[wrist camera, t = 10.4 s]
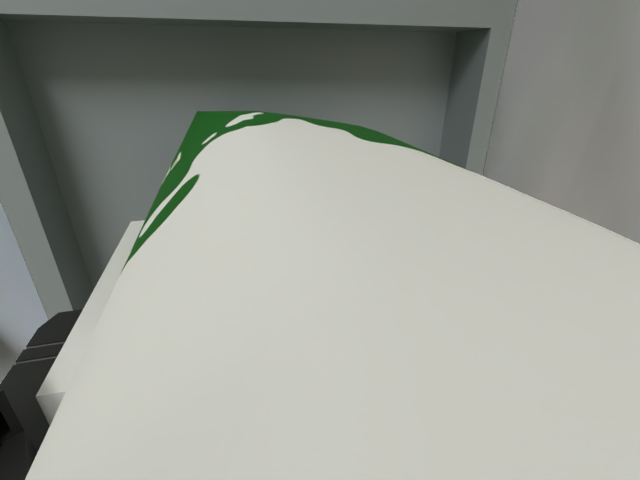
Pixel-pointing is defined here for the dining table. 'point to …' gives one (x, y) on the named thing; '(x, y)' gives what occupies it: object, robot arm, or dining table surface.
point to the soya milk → (353, 323)
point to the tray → (214, 99)
